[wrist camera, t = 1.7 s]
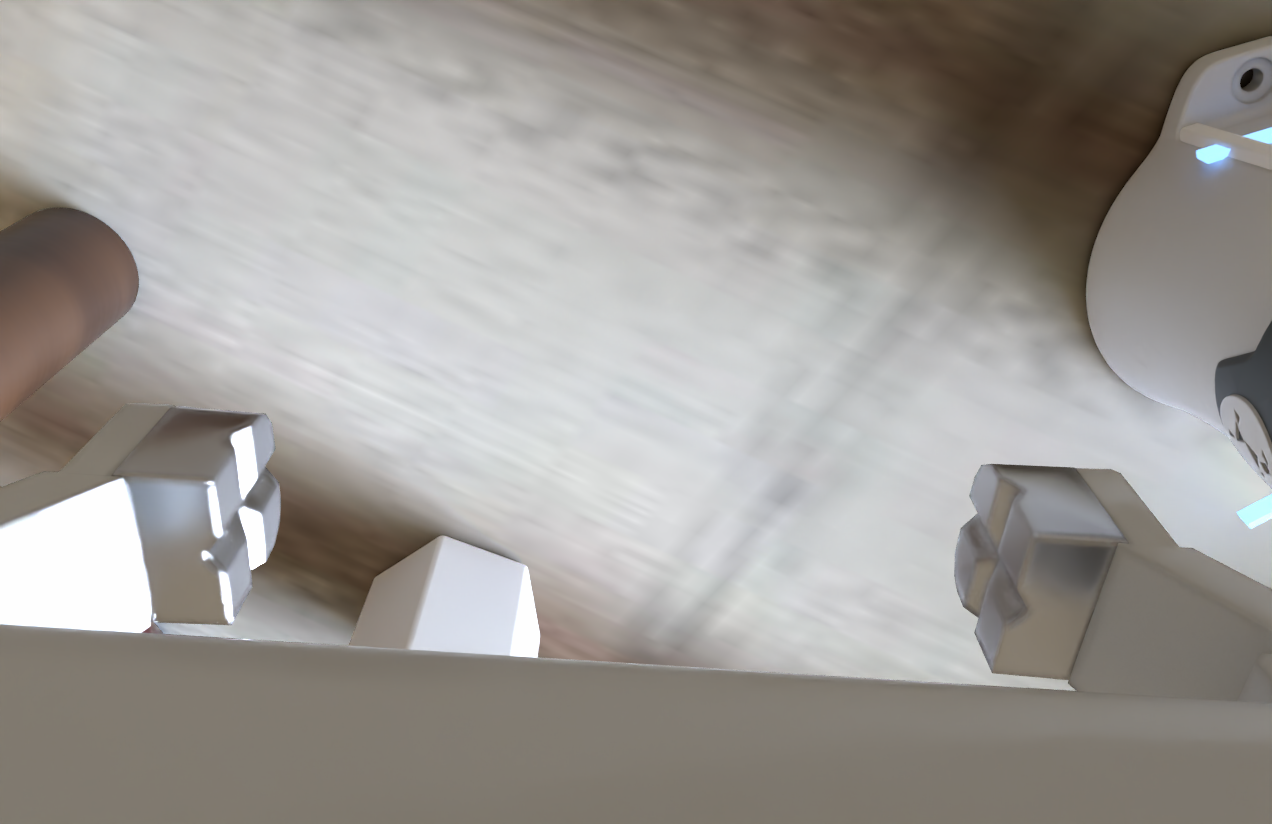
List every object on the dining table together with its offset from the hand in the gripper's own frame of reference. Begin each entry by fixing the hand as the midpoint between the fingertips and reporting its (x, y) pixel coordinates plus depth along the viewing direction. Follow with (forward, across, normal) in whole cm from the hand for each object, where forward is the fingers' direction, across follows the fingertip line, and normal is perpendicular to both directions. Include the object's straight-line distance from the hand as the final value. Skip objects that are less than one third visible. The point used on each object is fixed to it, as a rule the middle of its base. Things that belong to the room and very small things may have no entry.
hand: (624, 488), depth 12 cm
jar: (+32, +7, +28) cm, 43 cm away
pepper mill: (+32, +24, +11) cm, 41 cm away
